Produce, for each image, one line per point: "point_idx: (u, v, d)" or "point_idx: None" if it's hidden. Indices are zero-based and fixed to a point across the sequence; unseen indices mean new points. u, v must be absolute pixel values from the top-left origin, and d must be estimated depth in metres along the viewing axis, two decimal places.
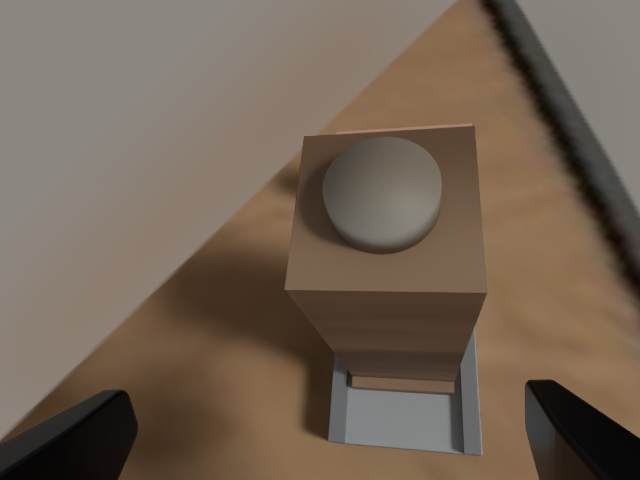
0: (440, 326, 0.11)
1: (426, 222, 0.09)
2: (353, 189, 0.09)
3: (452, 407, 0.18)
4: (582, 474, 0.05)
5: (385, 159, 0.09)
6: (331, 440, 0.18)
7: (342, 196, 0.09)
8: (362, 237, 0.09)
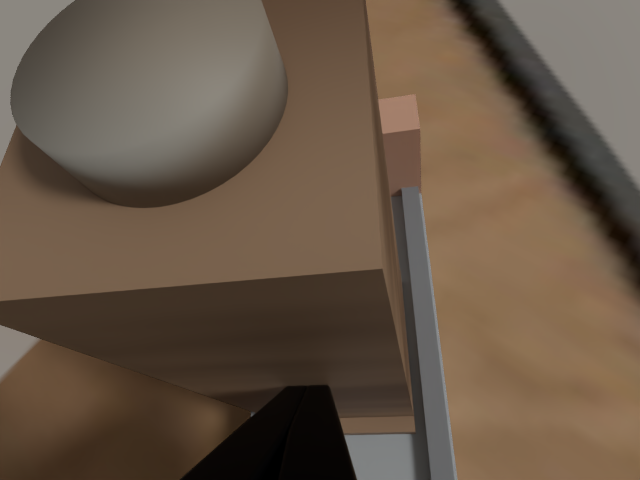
0: (337, 350, 0.06)
1: (228, 113, 0.04)
2: (77, 66, 0.04)
3: None
4: None
5: None
6: None
7: (50, 80, 0.04)
8: (76, 161, 0.04)
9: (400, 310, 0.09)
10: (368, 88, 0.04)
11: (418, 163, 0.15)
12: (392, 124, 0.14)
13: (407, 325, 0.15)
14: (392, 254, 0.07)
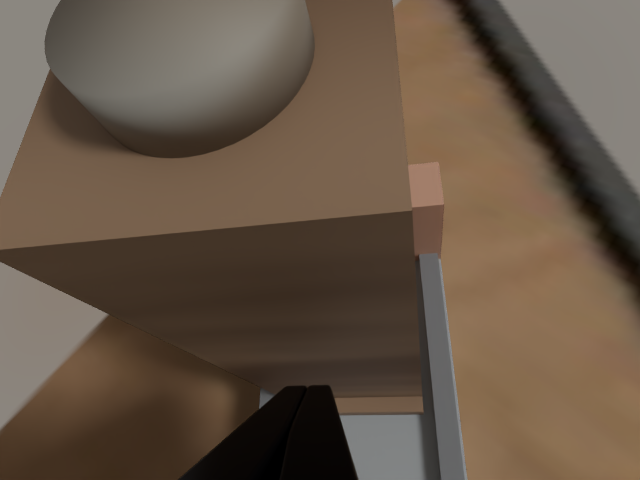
0: (355, 312, 0.06)
1: (261, 59, 0.04)
2: (109, 16, 0.04)
3: None
4: None
5: None
6: None
7: (83, 30, 0.04)
8: (111, 105, 0.04)
9: None
10: (395, 43, 0.04)
11: (439, 233, 0.14)
12: (412, 198, 0.12)
13: (425, 415, 0.13)
14: None
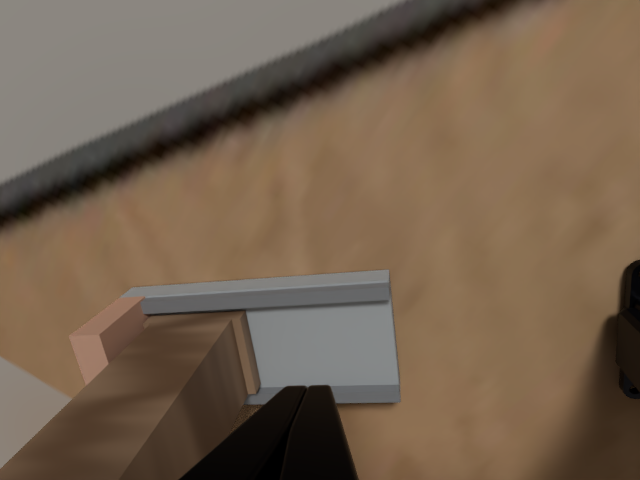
0: (144, 474, 0.13)
1: None
2: None
3: (353, 304, 0.20)
4: None
5: None
6: (399, 399, 0.21)
7: None
8: None
9: (143, 394, 0.16)
10: None
11: (123, 315, 0.20)
12: (98, 352, 0.19)
13: (246, 308, 0.21)
14: (101, 440, 0.14)
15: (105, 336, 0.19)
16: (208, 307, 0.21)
